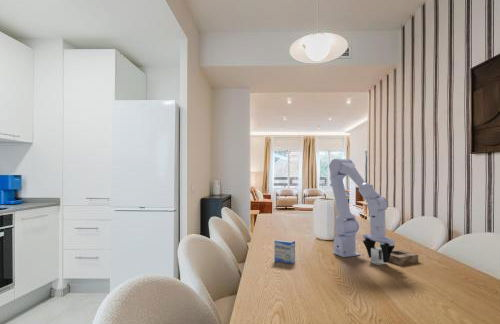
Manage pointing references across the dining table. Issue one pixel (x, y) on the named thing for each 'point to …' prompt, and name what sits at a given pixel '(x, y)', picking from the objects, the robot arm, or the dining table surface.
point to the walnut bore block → (402, 257)
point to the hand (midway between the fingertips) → (378, 259)
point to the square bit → (377, 256)
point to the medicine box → (284, 251)
